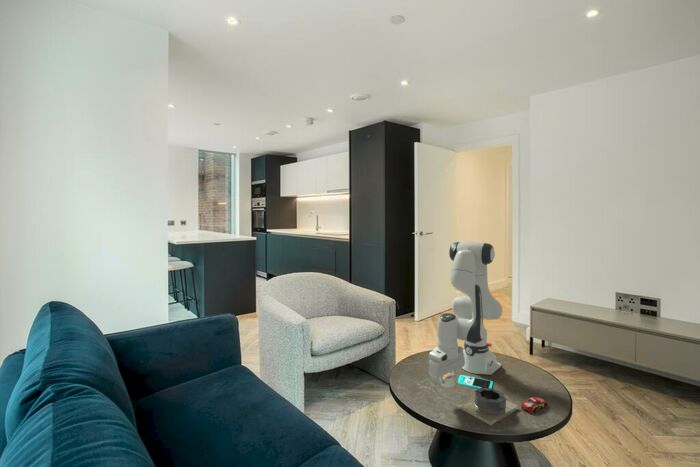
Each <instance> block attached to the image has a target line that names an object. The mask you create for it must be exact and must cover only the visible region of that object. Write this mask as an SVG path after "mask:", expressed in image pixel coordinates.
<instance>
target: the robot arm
mask: <svg viewBox="0 0 700 467" xmlns="http://www.w3.org/2000/svg"><path fill="white" fill-rule="evenodd" d="M495 253H496V252H495V248H494V246H493V245H492V244H491V243H487V242H484V243H483V242H477V241H471V242H470V241H466V242H465V241H464V242H463V241H462V242H461V241H456V242H453V243H452V244H451V245H450V246H449V253H448V255H449V258H450V260H451V261H452V265H451V270H450V279H449V280H450V283H451V285H452V287H454V289H456V290H457V291H458V292H460V293H463V294H464V296H462V295H461V296H456V297H454V298H453V300H452V302H451V310H452V312H453V313H442V314H440V315H439V317H438V321H437V329H436V330H437V331H436V333H437V338H438V339H437V343H436V344H437V345H436V346H435V347H434V349H432V350H431V351H430V352H429V354H428V356H429V361H428V362H429V363H428V374H429V375H430V376H431V377H432V378H434V379H438V380H439V384H440V385H441V384H444V383H445V380H444V379H443V378H442V377H443V375H445V374H447V373H451V374H453V375H454V376H455V379H456V376H457V373H458V369H461V368H462V369H463V370H464V371H466V372H468V373H471V374H475V375H477V374H478V375H488V376H489V375H490V376H491V375H493V374H494V373H496V371H497V370H499V369H500V368H501V367H502V364H501V363H500V362H498V361H497V356H496V354H495V353H494V352H492V351H491V350H490V349H489V348H491V347H492V345H493V344H492V342H488V341H487V340H488V332H487V329H486V327H485V326H484V320H488V321H489V320H492V321H493V320H498V319H500V318H501V316H502V314H503V306H502V304H501V303H500V301H499V300H498V299H496V298H495V297H494V296H493V294H492V293H491V291H490V290H489V288H490V287H489V283H488V281H489V280H488V265H490V264H491V263H493V261H494V259H495V255H496V254H495ZM465 295H466V296H465ZM458 340H459V341H464V343H463V346H459V343H458Z"/></svg>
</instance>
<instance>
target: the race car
mask: <svg viewBox="0 0 700 467" xmlns="http://www.w3.org/2000/svg"><path fill="white" fill-rule="evenodd" d="M545 406H546V407H547V406H548V401H546V400H545V399H544V398H541V397H537V396H536V397H532V396H531V397H529V398H526V399H525V400H524V401H523V402H522V403H521V409H522V410H524V411H526V412H527V413H531V414H532V413H533V412H534V413H536V412H537V411H539V410H542V409H544V408H546V407H545ZM534 413H533V414H534Z"/></svg>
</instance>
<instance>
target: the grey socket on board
mask: <svg viewBox="0 0 700 467" xmlns="http://www.w3.org/2000/svg"><path fill="white" fill-rule="evenodd" d="M517 410H519V405H517V404H515V403H514V402H513V403H512V402H511V401H509V400H507V398H506V396H505V394H504V392H501V391H499V390H498V389H495V388H493V387H492V388H480V389H478V388H477V389H475V390H474V399H473V400H471V401H469V402H467V403H465V404H463V405H461V411H463V412H466V413H467V414H469V415H470V416H473V417H475V418H476V419H478V420H479V421H482V422H483V423H486V424H487V425H489V426H492V425H494V424H496V423H497V422H499V421H500V420H502V419H504V418H506V417H507V416H509V415H511V414H512V413H514V412H515V411H517Z"/></svg>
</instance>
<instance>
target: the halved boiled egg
mask: <svg viewBox="0 0 700 467" xmlns="http://www.w3.org/2000/svg"><path fill="white" fill-rule="evenodd" d="M442 378H443V379H444V380H445V383H444V384H440V386H441V387H442V388H446V389H453V388H455V385H456V384H455V382H456V380H455V379H456V378H455V376H454V375H453V374H452V372H450V373H447V374H445V375H443V377H442Z"/></svg>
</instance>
